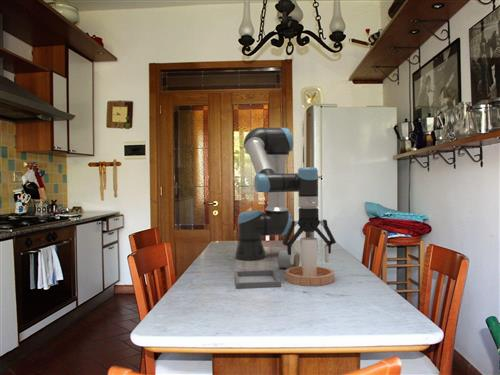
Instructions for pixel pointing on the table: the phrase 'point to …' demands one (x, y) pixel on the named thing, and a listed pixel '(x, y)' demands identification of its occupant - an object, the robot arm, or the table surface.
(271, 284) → the tray
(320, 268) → the bowl
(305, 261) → the drinking glass
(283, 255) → the ceramic mug
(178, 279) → the table surface
